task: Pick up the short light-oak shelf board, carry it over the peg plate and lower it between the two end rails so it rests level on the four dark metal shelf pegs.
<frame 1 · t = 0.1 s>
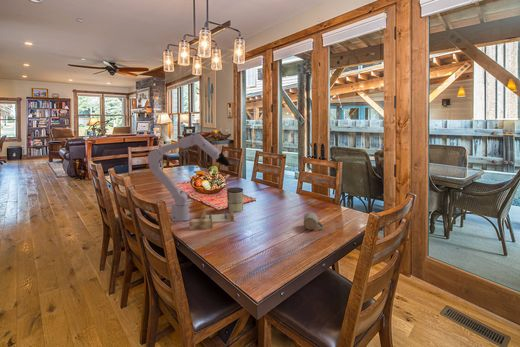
hand: (228, 164, 170), 32 cm above the table, tool tilted 50°, fingers open, 7 cm apart
coffee can: (235, 210, 189), on the table
ceramic mug: (313, 228, 158), on the table
shelf board: (201, 228, 158), on the table
peg plate: (218, 218, 173), on the table
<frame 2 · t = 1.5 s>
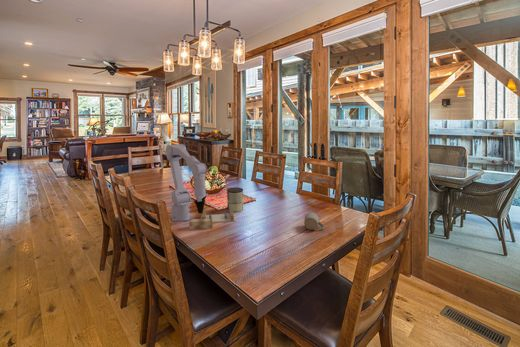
hand: (201, 211, 157), 10 cm above the table, tool pointing down, fingers open, 7 cm apart
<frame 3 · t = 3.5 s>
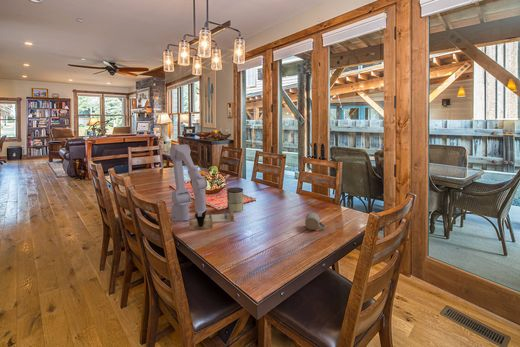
hand: (201, 225, 158), 2 cm above the table, tool pointing down, fingers closed on shelf board, 4 cm apart
shelf board: (201, 227, 158), on the table, touching gripper
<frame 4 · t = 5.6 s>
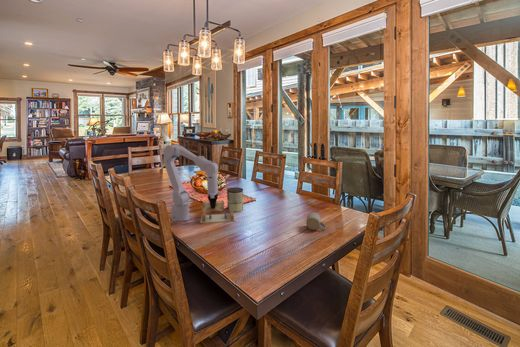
hand: (213, 207, 167), 8 cm above the table, tool pointing down, fingers closed on shelf board, 4 cm apart
shelf board: (213, 210, 167), point 7 cm above the table, touching gripper
when the fingers open (5 cm above the table, at t = 7.6 s): shelf board stays where it is, resting on peg plate.
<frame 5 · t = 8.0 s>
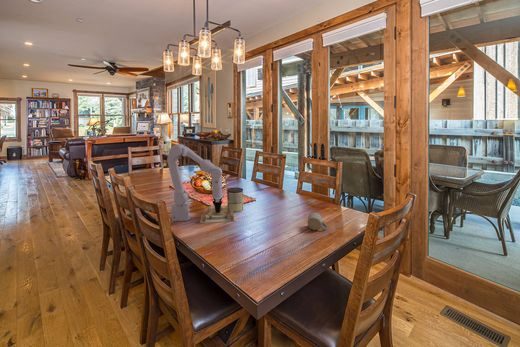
hand: (217, 210, 172), 5 cm above the table, tool pointing down, fingers open, 7 cm apart
shelf board: (218, 214, 172), point 3 cm above the table, touching peg plate
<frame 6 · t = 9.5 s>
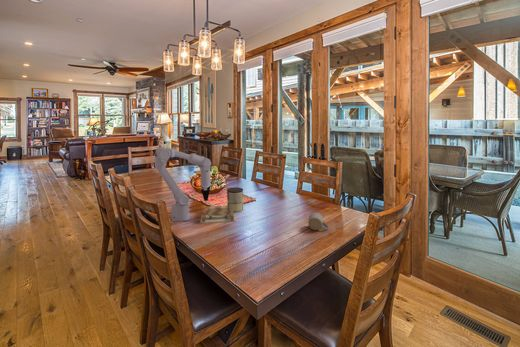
hand: (206, 199, 179), 10 cm above the table, tool pointing down, fingers open, 7 cm apart
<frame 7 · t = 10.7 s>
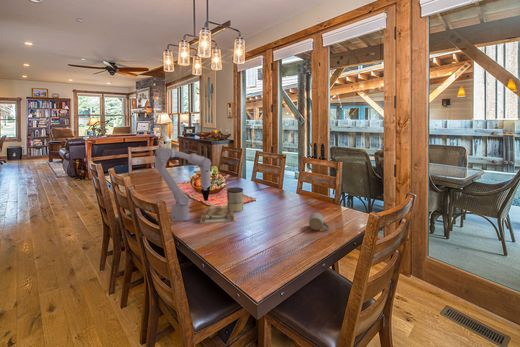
hand: (206, 199, 179), 10 cm above the table, tool pointing down, fingers open, 7 cm apart
at the end: shelf board 0.1 cm off-centre on the peg plate, point 2.6 cm above the peg plate's base; shelf board tilted 0°; the gripper is holding nothing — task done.
